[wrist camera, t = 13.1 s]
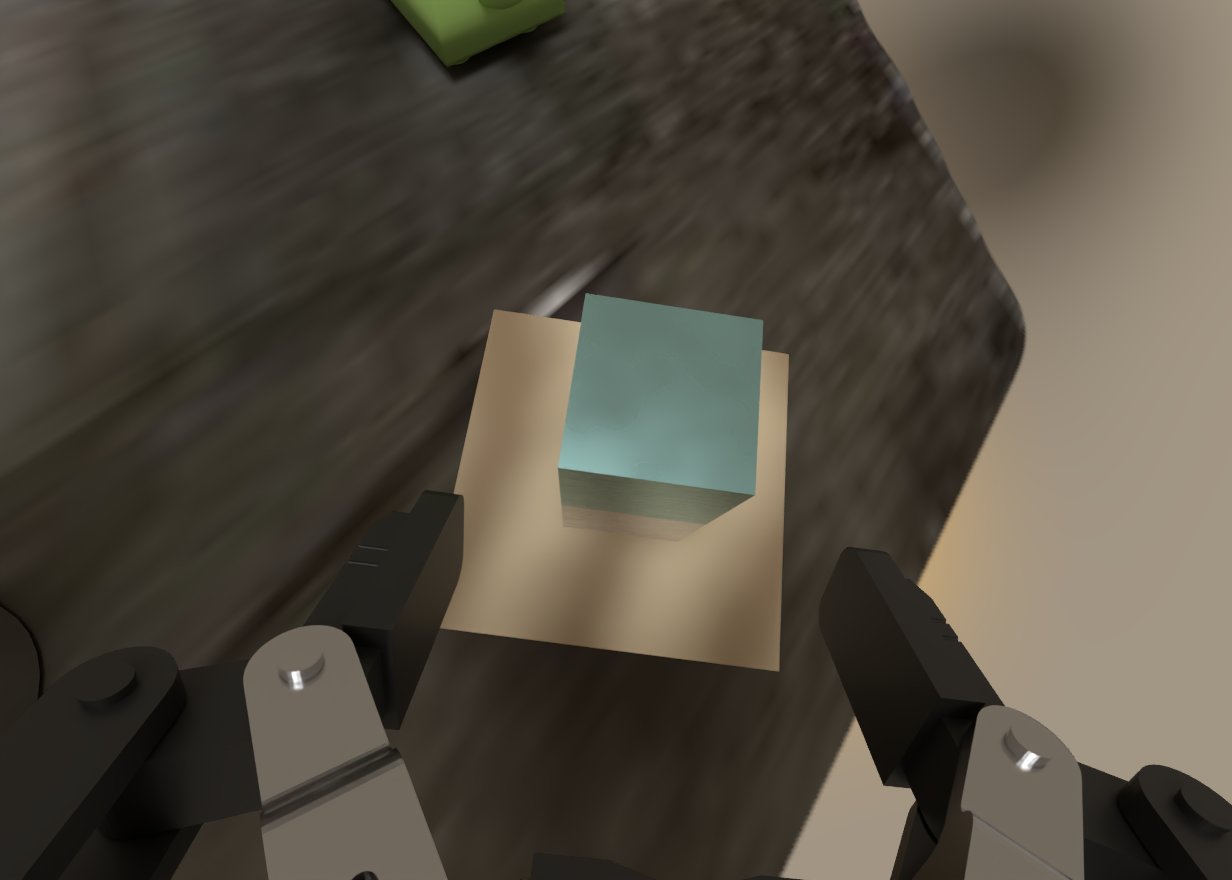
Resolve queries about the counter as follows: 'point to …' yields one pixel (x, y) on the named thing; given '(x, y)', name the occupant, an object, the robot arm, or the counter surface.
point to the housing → (659, 419)
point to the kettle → (474, 23)
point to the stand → (600, 561)
